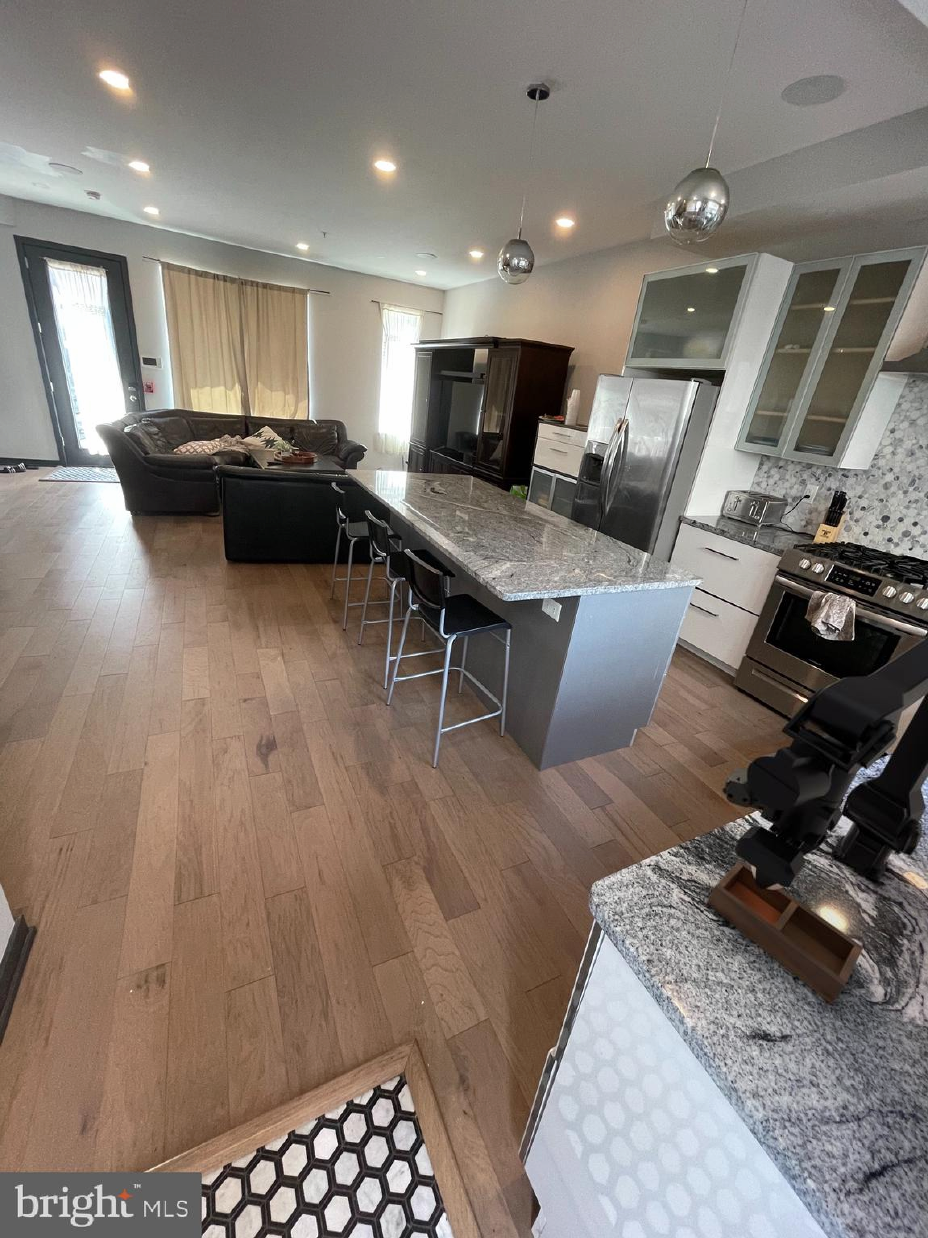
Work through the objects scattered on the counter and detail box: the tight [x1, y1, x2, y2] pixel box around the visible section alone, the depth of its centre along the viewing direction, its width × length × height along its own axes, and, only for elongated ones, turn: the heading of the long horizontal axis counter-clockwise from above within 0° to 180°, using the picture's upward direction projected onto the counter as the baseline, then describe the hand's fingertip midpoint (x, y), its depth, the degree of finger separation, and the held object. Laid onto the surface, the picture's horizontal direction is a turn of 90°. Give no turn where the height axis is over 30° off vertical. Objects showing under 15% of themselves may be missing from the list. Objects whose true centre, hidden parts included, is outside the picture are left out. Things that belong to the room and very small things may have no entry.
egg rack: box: [706, 859, 864, 1005], centre depth 66 cm, size 8×15×4 cm, turn 39°
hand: (766, 877), depth 67 cm, fingers closed on egg, 4 cm apart
